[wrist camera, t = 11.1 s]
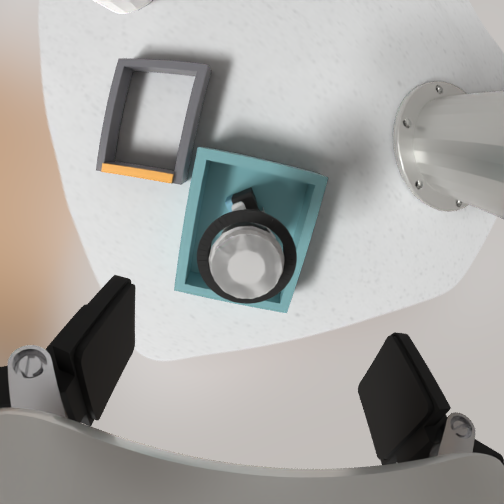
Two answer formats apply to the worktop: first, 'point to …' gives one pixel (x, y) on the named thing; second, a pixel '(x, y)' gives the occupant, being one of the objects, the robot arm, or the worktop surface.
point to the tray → (267, 196)
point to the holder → (116, 111)
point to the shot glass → (123, 5)
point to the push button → (246, 252)
